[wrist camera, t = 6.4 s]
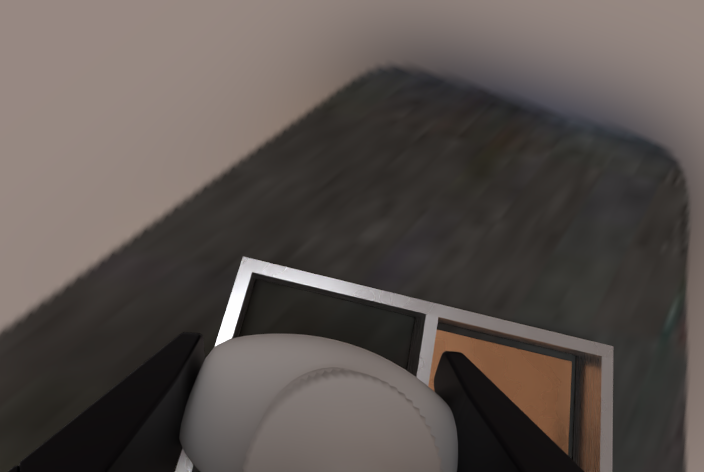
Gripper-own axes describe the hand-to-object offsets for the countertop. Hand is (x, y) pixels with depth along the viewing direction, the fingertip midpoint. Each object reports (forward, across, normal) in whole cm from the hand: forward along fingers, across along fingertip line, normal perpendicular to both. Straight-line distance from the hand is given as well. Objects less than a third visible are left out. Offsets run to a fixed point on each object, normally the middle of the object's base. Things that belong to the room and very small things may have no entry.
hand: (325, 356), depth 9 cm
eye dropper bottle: (+4, 0, +6) cm, 7 cm away
